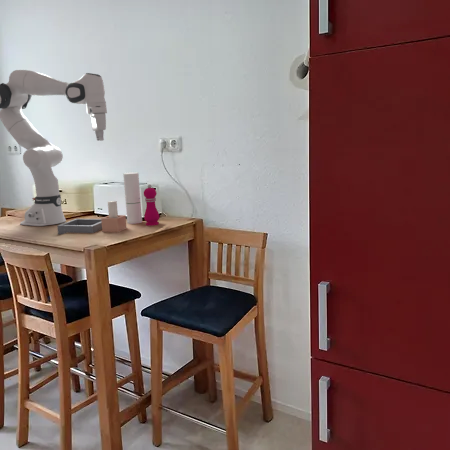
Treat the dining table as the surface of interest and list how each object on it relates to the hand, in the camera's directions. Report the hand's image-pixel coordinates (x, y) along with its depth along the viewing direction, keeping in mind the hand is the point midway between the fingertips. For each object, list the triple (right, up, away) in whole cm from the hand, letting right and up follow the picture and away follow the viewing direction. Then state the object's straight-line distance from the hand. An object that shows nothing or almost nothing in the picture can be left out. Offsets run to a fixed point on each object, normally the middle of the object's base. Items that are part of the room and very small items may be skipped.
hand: (100, 140), depth 220 cm
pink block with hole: (+7, -42, -3) cm, 43 cm away
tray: (-8, -42, +2) cm, 43 cm away
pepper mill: (+23, -40, +6) cm, 47 cm away
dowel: (+7, -41, -3) cm, 42 cm away
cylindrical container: (+14, -39, +13) cm, 43 cm away
